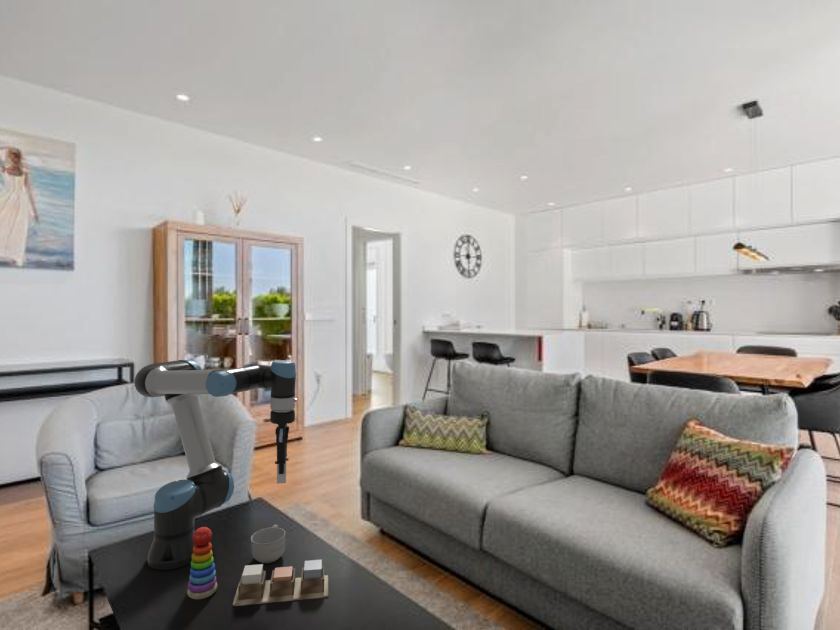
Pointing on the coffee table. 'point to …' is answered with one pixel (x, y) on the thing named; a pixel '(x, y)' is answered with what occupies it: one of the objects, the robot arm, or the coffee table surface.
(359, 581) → the coffee table surface
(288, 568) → the button terracotta
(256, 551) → the teacup
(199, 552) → the stacking toy
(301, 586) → the button board
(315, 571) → the button slate
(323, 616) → the coffee table surface
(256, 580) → the button cream
